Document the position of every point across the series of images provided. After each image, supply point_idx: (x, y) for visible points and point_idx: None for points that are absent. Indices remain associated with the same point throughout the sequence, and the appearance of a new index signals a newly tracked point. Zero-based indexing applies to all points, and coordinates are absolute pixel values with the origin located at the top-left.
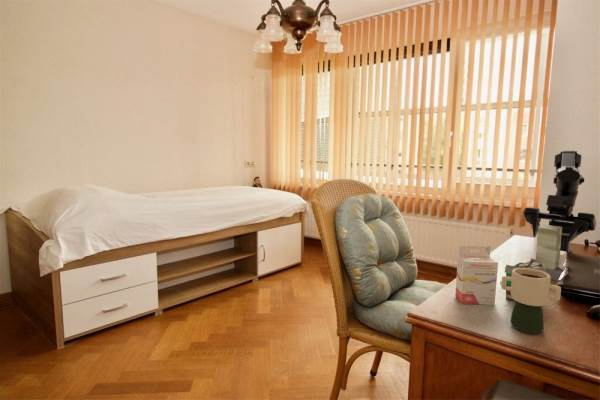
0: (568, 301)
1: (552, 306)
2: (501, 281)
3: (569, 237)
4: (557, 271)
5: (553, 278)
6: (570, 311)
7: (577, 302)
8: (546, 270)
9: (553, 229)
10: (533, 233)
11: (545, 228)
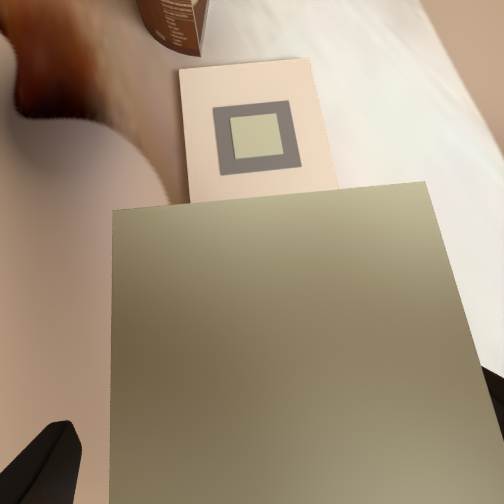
0: (69, 91)
1: (96, 17)
2: (304, 59)
3: (30, 459)
4: None
5: None
6: (45, 22)
7: (44, 106)
8: None
9: (173, 208)
10: (494, 373)
11: (301, 194)
